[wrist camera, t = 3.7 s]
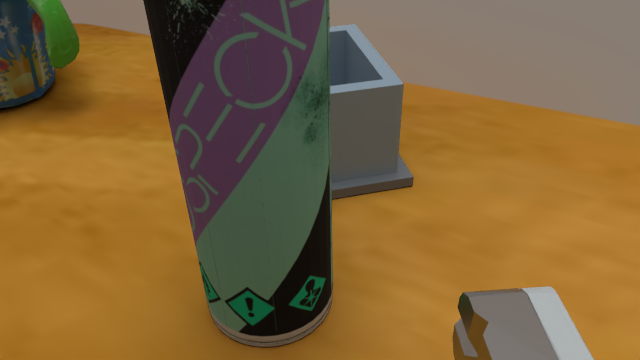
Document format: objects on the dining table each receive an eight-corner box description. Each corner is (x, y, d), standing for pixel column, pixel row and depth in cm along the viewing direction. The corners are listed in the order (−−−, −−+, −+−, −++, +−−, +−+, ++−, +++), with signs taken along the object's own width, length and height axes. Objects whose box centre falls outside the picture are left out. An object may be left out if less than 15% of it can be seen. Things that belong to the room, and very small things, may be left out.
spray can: (199, 270, 26) (78, -288, 14) (309, 241, 27) (285, -288, 15) (223, 364, 22) (80, -318, 10) (351, 324, 23) (364, -314, 11)
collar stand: (233, 215, 29) (218, 116, 25) (217, 122, 37) (203, 36, 33) (412, 185, 31) (422, 88, 27) (360, 102, 39) (362, 19, 35)
